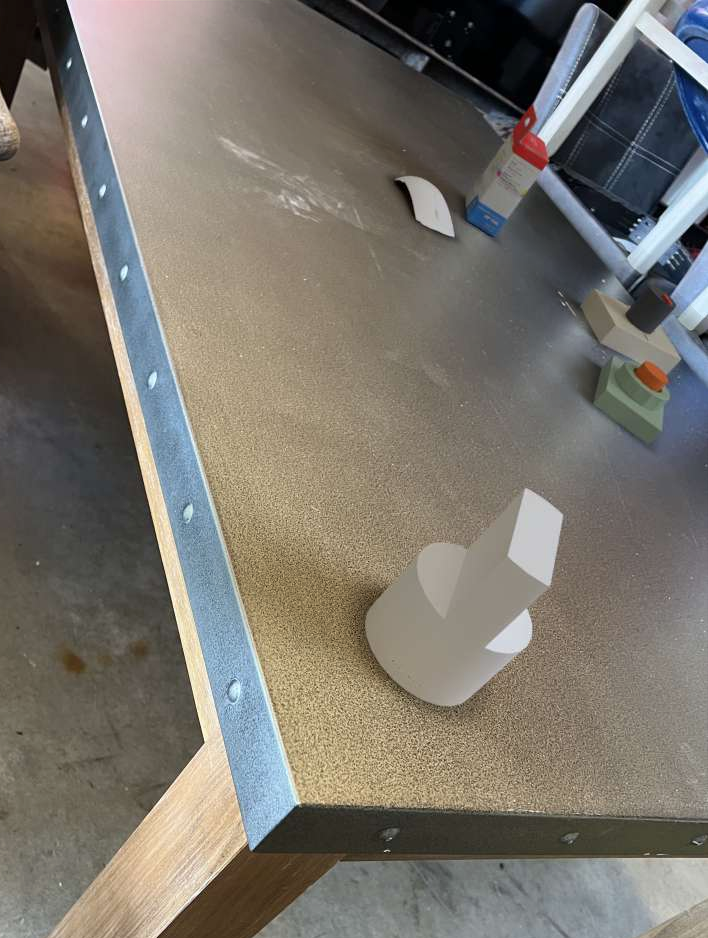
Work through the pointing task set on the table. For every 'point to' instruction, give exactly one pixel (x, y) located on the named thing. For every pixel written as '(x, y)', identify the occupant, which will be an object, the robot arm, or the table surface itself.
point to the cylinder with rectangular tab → (466, 605)
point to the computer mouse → (429, 205)
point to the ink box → (507, 177)
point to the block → (630, 399)
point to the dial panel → (627, 332)
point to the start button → (651, 376)
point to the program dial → (650, 309)
